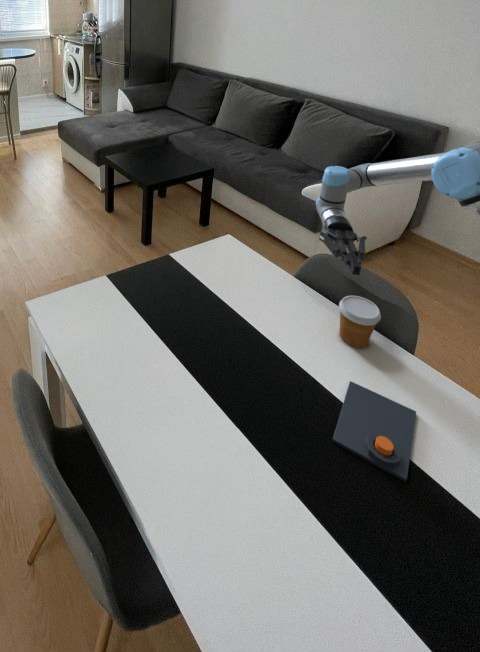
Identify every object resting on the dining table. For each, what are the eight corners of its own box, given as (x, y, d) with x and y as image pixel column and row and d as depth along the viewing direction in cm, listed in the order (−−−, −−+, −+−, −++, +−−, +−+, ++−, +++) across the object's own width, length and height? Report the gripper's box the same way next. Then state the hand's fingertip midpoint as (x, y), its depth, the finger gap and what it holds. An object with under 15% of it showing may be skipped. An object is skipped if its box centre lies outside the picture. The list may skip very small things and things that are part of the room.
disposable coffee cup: (327, 341, 118) (333, 306, 114) (340, 322, 124) (347, 289, 119) (366, 361, 111) (375, 325, 107) (378, 340, 117) (386, 306, 113)
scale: (348, 386, 105) (351, 376, 104) (414, 417, 97) (417, 406, 96) (331, 444, 93) (333, 433, 91) (404, 485, 85) (408, 474, 83)
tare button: (375, 438, 90) (377, 432, 90) (393, 447, 88) (394, 441, 88) (373, 449, 88) (374, 444, 88) (390, 459, 86) (392, 453, 86)
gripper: (358, 237, 137) (382, 285, 117) (312, 233, 141) (327, 278, 121) (362, 217, 135) (387, 262, 114) (315, 213, 139) (331, 256, 118)
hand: (356, 270), depth 117 cm, fingers closed
